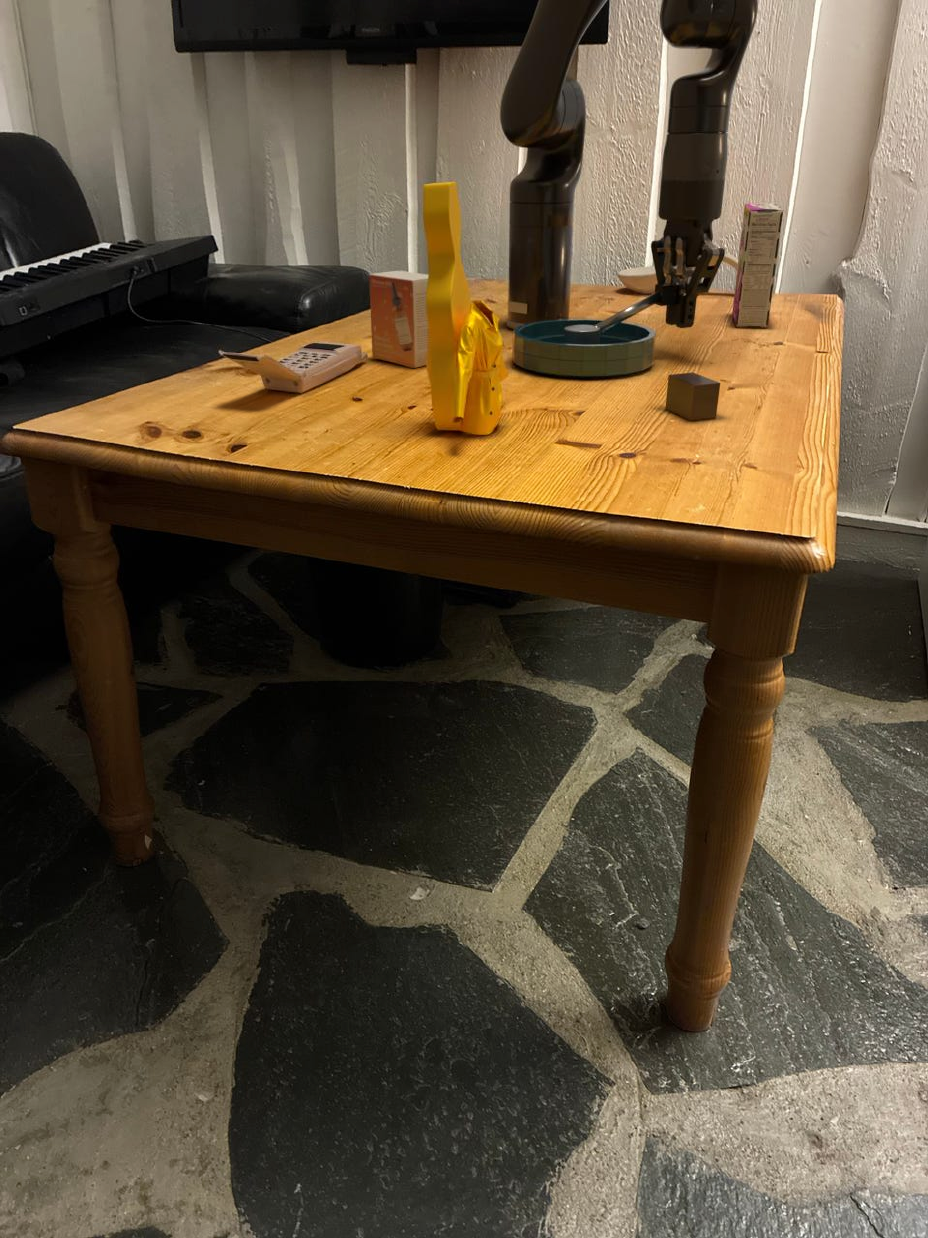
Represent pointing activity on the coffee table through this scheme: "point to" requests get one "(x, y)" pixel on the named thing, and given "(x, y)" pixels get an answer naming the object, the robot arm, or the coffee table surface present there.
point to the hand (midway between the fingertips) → (679, 324)
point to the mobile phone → (302, 365)
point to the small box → (399, 317)
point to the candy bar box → (757, 264)
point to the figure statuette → (458, 326)
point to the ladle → (621, 315)
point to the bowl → (583, 349)
